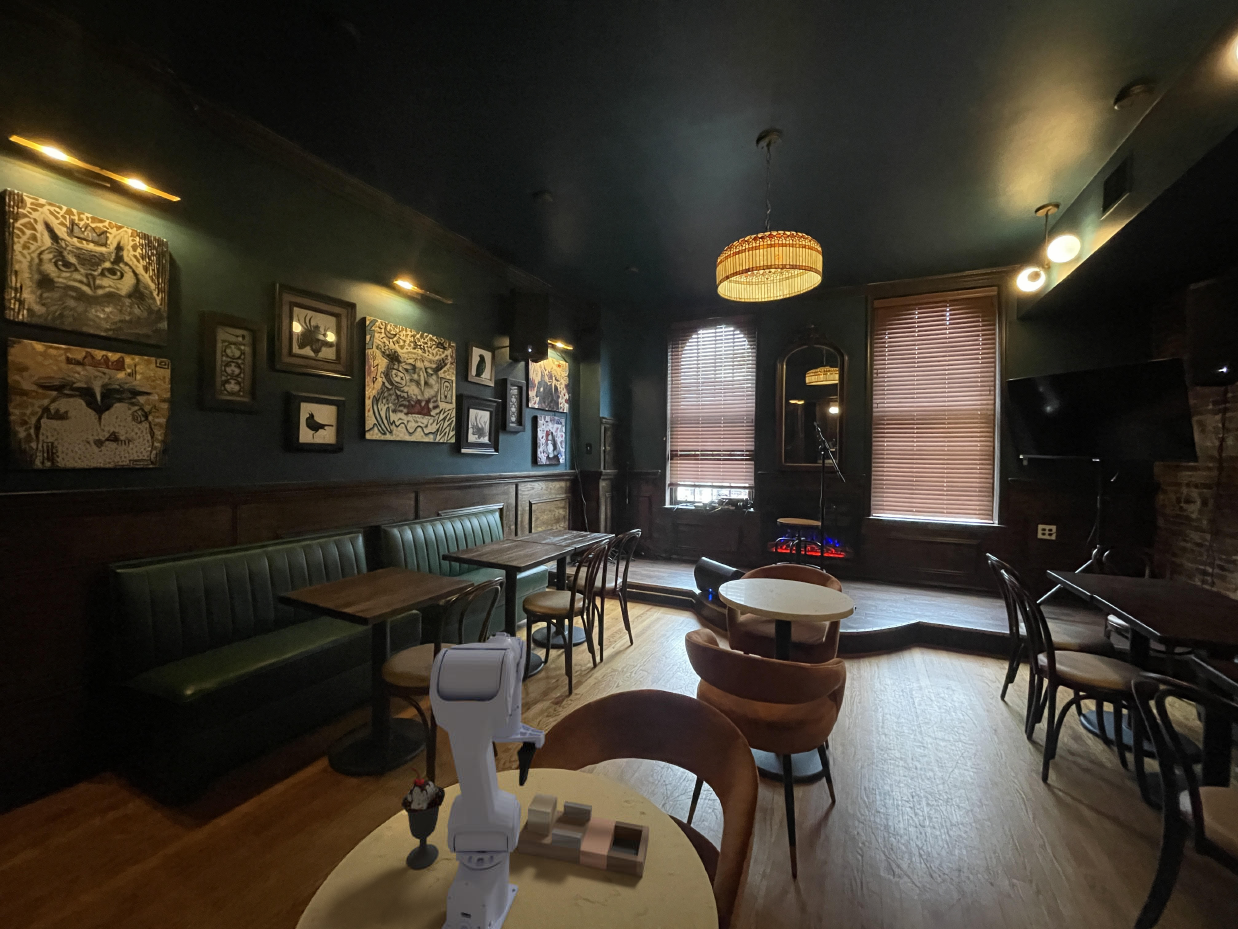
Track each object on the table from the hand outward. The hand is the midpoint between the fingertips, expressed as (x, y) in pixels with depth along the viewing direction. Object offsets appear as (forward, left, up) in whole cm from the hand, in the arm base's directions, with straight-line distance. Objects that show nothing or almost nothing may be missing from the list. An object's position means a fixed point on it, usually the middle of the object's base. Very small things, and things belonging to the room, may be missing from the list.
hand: (503, 779), depth 88 cm
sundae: (-8, +10, -10) cm, 16 cm away
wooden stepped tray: (0, -15, -9) cm, 18 cm away
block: (0, -8, -7) cm, 10 cm away
